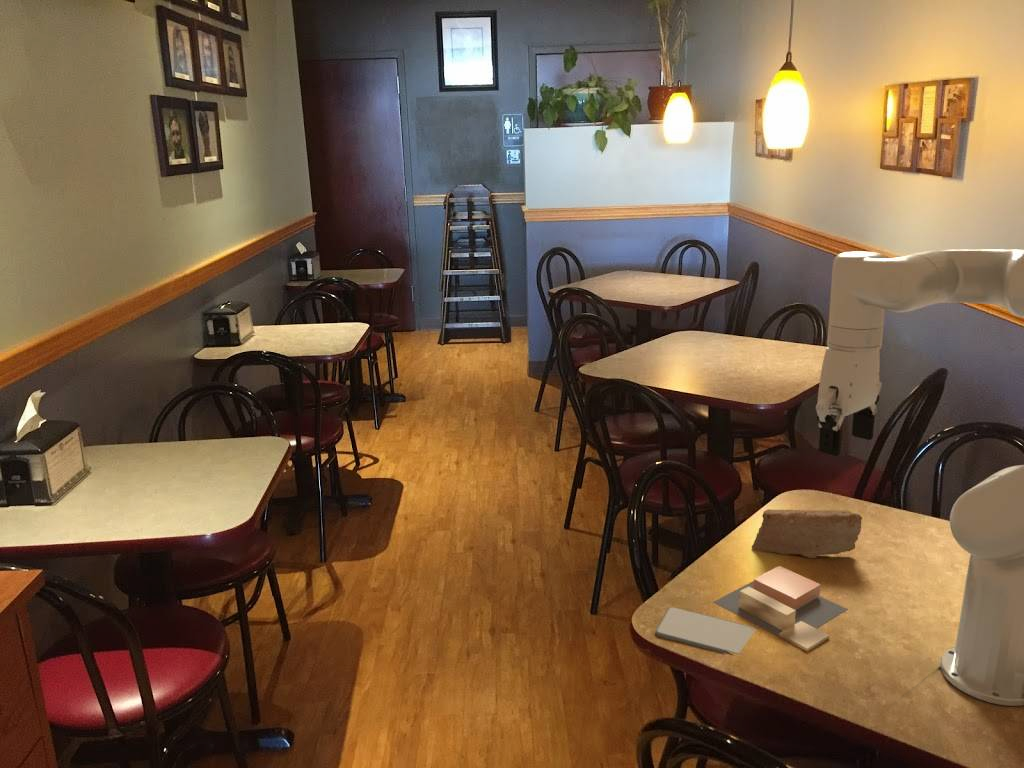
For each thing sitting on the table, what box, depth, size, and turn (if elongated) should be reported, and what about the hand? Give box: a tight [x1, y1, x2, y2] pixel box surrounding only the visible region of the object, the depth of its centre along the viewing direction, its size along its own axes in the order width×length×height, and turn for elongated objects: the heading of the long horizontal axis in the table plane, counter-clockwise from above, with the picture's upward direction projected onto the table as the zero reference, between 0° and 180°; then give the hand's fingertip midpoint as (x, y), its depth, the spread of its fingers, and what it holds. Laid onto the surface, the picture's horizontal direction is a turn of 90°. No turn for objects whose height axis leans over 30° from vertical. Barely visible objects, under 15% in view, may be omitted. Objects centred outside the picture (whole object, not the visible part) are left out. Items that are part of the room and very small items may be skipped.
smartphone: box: [655, 606, 762, 657], centre depth 130 cm, size 8×1×15 cm
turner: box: [739, 587, 830, 652], centre depth 131 cm, size 14×6×3 cm, turn 36°
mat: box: [713, 580, 848, 645], centre depth 137 cm, size 15×15×1 cm
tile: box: [753, 565, 821, 610], centre depth 139 cm, size 2×7×8 cm
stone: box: [751, 509, 863, 559], centre depth 151 cm, size 19×10×4 cm
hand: (846, 445), depth 129 cm, fingers open, 9 cm apart
